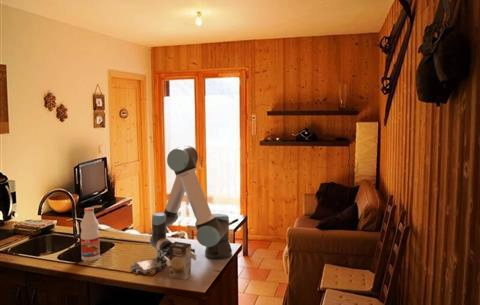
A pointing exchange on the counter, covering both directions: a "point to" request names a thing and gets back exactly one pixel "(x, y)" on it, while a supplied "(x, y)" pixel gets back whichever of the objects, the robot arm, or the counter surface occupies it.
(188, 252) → the coffee box
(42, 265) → the counter surface
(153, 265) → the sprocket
